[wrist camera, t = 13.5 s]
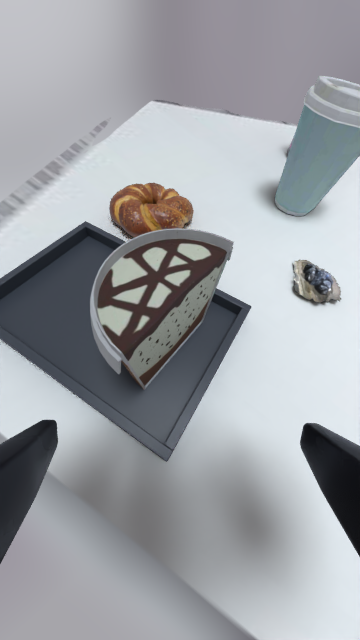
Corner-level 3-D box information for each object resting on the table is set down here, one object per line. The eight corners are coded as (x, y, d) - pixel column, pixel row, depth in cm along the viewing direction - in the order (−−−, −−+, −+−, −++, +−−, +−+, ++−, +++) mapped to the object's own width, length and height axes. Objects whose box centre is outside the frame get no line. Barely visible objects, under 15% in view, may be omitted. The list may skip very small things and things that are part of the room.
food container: (167, 284, 27) (172, 203, 18) (210, 313, 25) (237, 238, 16) (84, 360, 21) (33, 294, 12) (132, 403, 19) (112, 361, 11)
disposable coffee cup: (295, 185, 43) (353, 70, 30) (337, 218, 38) (427, 98, 25) (251, 194, 40) (295, 70, 27) (290, 232, 35) (367, 102, 22)
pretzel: (189, 200, 37) (192, 176, 34) (194, 244, 31) (198, 221, 28) (115, 195, 36) (111, 170, 33) (107, 241, 30) (101, 216, 27)
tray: (166, 461, 18) (167, 461, 16) (-28, 318, 23) (-43, 306, 21) (245, 316, 26) (251, 306, 24) (89, 234, 31) (85, 220, 29)
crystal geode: (300, 308, 27) (309, 298, 25) (276, 261, 31) (282, 250, 30) (349, 304, 28) (360, 294, 26) (319, 259, 32) (328, 248, 31)
